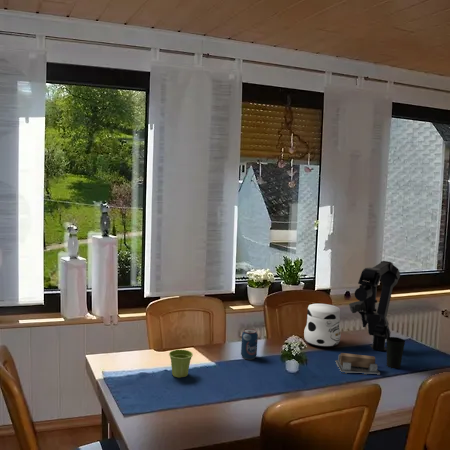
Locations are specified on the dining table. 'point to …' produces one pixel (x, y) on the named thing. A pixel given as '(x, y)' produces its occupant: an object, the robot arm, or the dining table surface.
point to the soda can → (249, 344)
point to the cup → (394, 351)
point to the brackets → (356, 368)
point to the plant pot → (180, 362)
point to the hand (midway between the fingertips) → (366, 330)
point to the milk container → (322, 325)
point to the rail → (357, 360)
